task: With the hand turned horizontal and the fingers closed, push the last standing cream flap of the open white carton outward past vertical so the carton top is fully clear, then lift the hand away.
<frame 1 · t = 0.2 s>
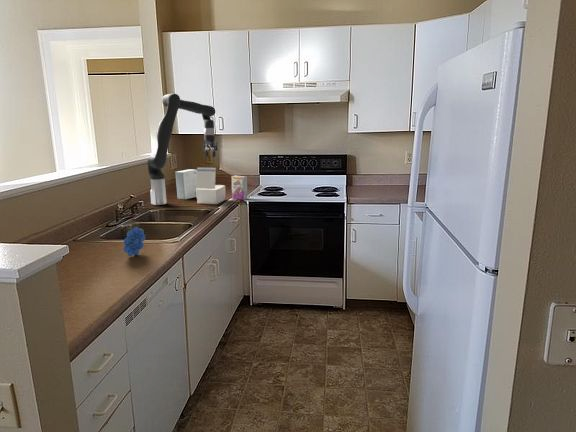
hand: (210, 156, 311), 29 cm above the countertop, tool pointing down, fingers open, 8 cm apart
candy bar box: (239, 199, 302), on the countertop
hard drive box: (188, 197, 309), on the countertop
flap: (206, 178, 281), point 18 cm above the countertop, hinge at -10.0°
grapes: (134, 255, 179), on the countertop
carton: (211, 201, 292), on the countertop
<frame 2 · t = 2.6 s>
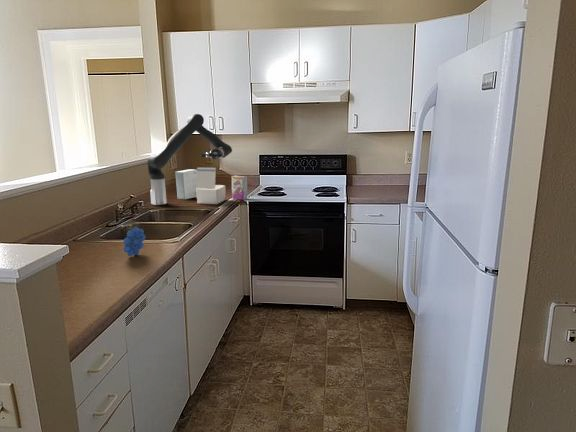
hand: (208, 156, 283), 32 cm above the countertop, tool horizontal, fingers open, 8 cm apart
nothing on the countertop moved.
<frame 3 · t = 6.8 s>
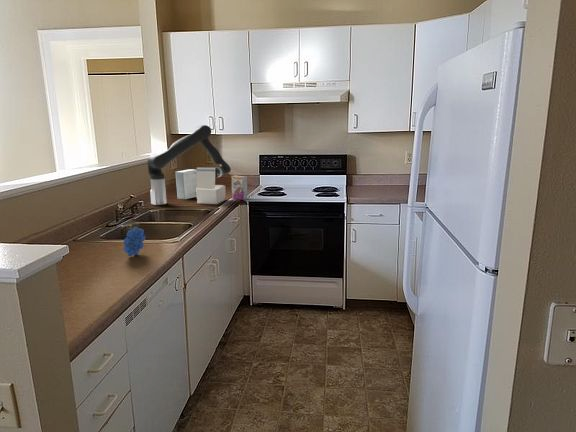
hand: (206, 175, 281), 19 cm above the countertop, tool horizontal, fingers closed
flap: (205, 178, 281), point 18 cm above the countertop, hinge at -7.0°, touching gripper
everything else where it was.
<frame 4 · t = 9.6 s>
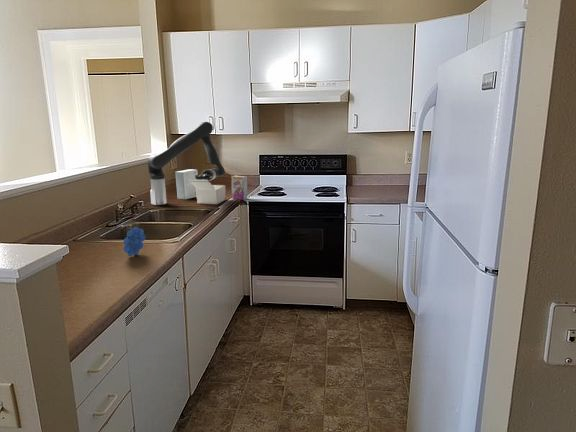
hand: (198, 178, 269), 19 cm above the countertop, tool horizontal, fingers closed
flap: (202, 184, 275), point 14 cm above the countertop, hinge at 56.7°, touching gripper
everything else where it was.
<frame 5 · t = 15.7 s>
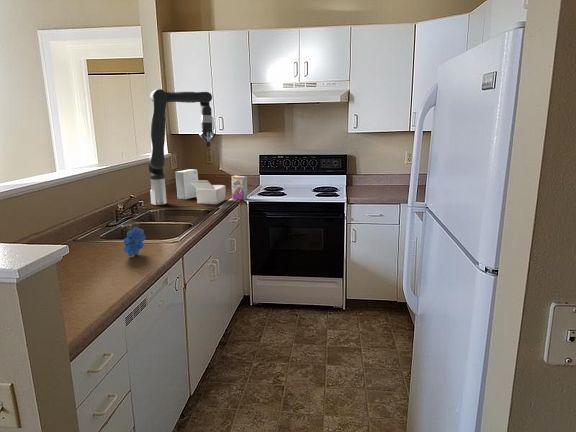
hand: (208, 147, 294), 37 cm above the countertop, tool pointing down, fingers closed
flap: (201, 184, 275), point 14 cm above the countertop, hinge at 58.3°
everything else where it was.
at the end: flap at +58° (first picture: -10°) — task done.
